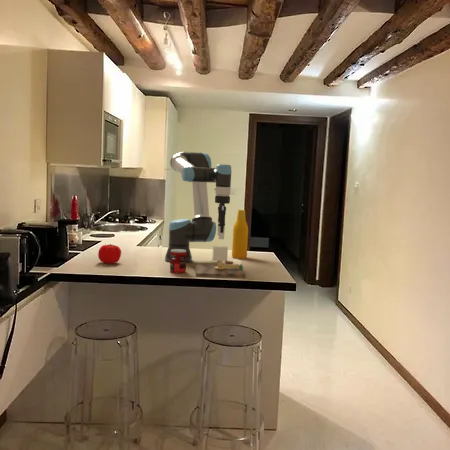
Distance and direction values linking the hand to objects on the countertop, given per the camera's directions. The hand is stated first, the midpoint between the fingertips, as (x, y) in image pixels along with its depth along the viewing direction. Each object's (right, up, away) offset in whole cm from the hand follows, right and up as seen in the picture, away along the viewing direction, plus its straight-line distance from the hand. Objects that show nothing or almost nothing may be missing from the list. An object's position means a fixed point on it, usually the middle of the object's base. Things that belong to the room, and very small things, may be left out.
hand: (220, 237), depth 239 cm
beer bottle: (+11, -14, +46) cm, 49 cm away
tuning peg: (+3, -16, +2) cm, 16 cm away
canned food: (-22, -18, -3) cm, 28 cm away
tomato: (-59, -14, +12) cm, 62 cm away
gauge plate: (-1, -18, +2) cm, 18 cm away
